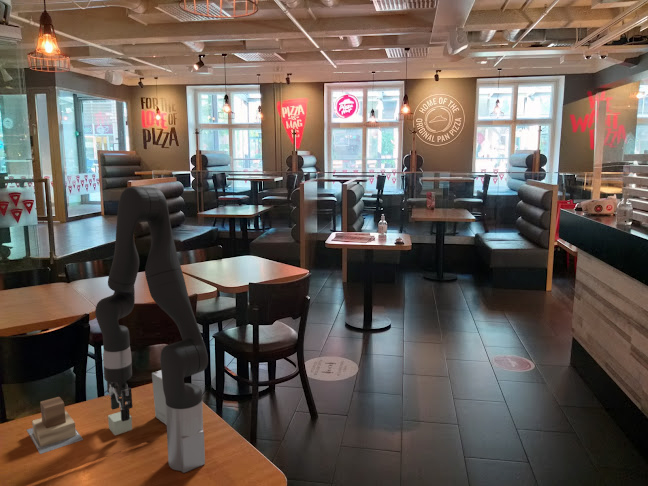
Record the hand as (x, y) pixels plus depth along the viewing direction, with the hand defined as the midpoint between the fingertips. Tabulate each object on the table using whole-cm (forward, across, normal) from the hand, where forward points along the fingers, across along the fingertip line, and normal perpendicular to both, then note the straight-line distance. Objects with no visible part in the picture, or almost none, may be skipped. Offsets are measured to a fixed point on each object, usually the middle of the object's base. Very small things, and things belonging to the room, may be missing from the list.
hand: (120, 414), depth 150 cm
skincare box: (+5, -2, -14) cm, 15 cm away
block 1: (0, +8, +16) cm, 18 cm away
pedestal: (+4, +8, +16) cm, 18 cm away
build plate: (+5, +8, +16) cm, 19 cm away
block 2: (+5, -1, 0) cm, 5 cm away
